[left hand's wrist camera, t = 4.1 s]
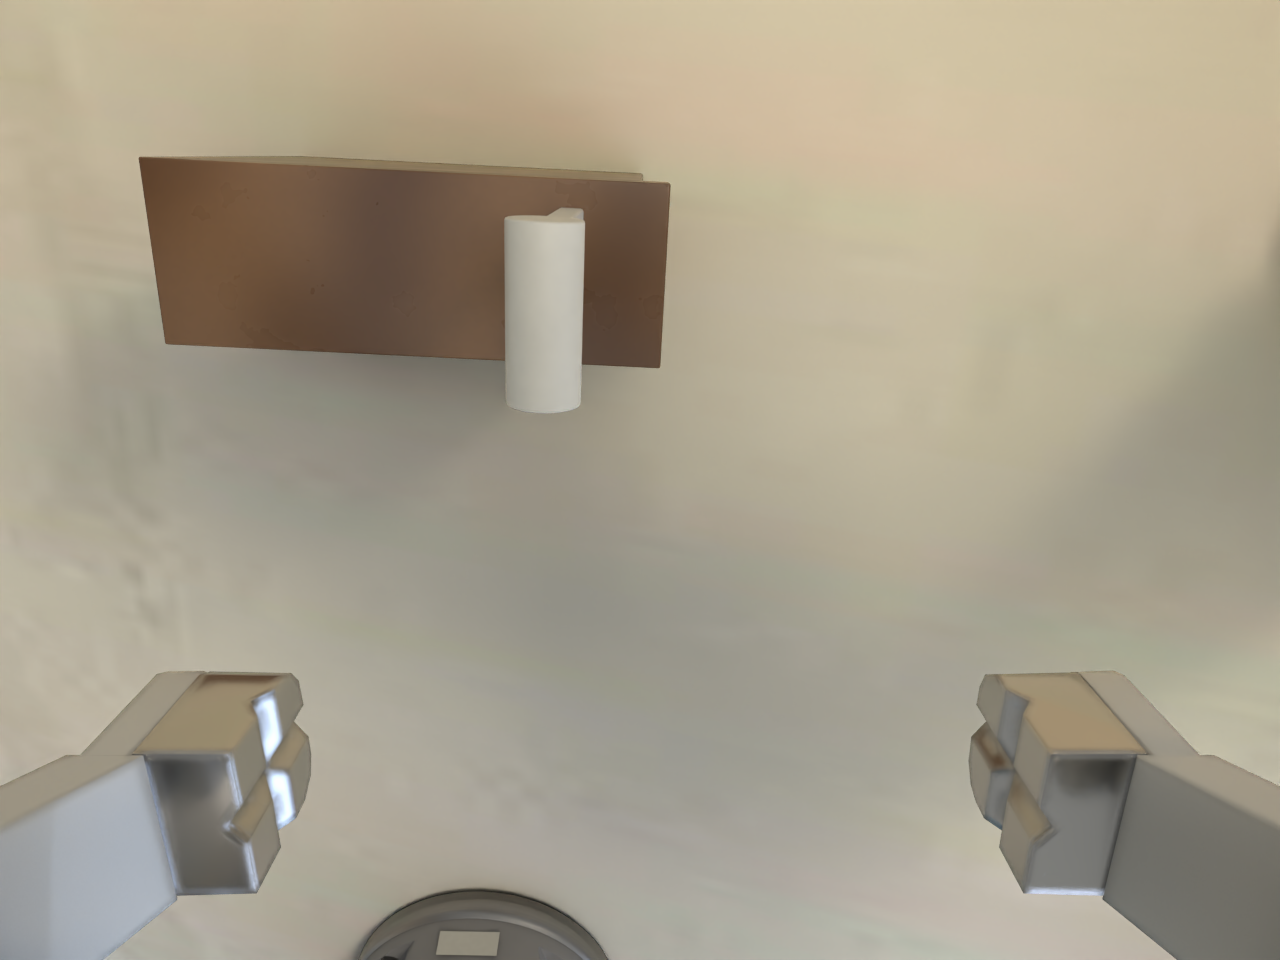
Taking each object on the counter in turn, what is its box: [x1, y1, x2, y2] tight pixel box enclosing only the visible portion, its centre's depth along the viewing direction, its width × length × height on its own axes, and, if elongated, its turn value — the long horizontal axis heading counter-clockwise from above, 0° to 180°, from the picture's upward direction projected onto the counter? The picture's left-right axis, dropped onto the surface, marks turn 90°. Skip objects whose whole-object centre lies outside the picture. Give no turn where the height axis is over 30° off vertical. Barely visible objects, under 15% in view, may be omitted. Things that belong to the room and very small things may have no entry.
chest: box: [177, 156, 643, 181], centre depth 31 cm, size 14×5×11 cm, turn 87°
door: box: [139, 157, 670, 413], centre depth 22 cm, size 15×5×9 cm, turn 87°
